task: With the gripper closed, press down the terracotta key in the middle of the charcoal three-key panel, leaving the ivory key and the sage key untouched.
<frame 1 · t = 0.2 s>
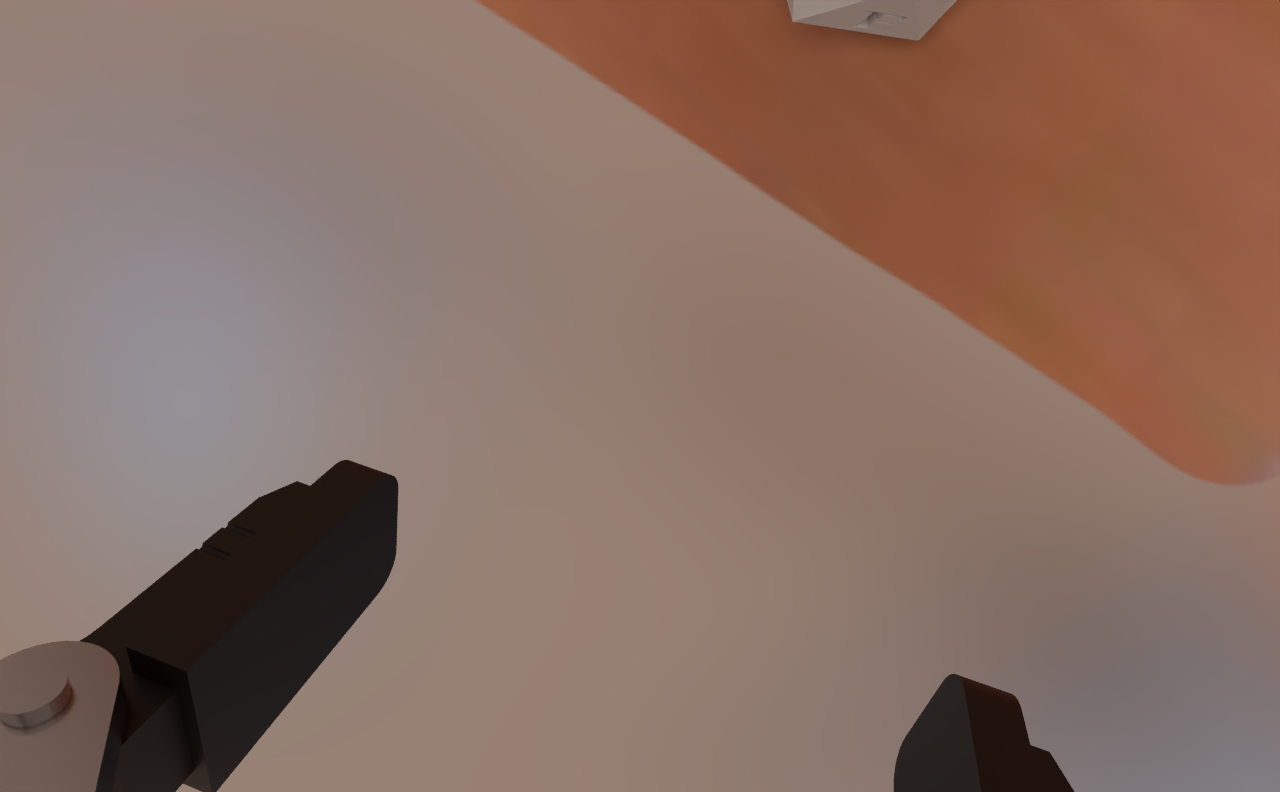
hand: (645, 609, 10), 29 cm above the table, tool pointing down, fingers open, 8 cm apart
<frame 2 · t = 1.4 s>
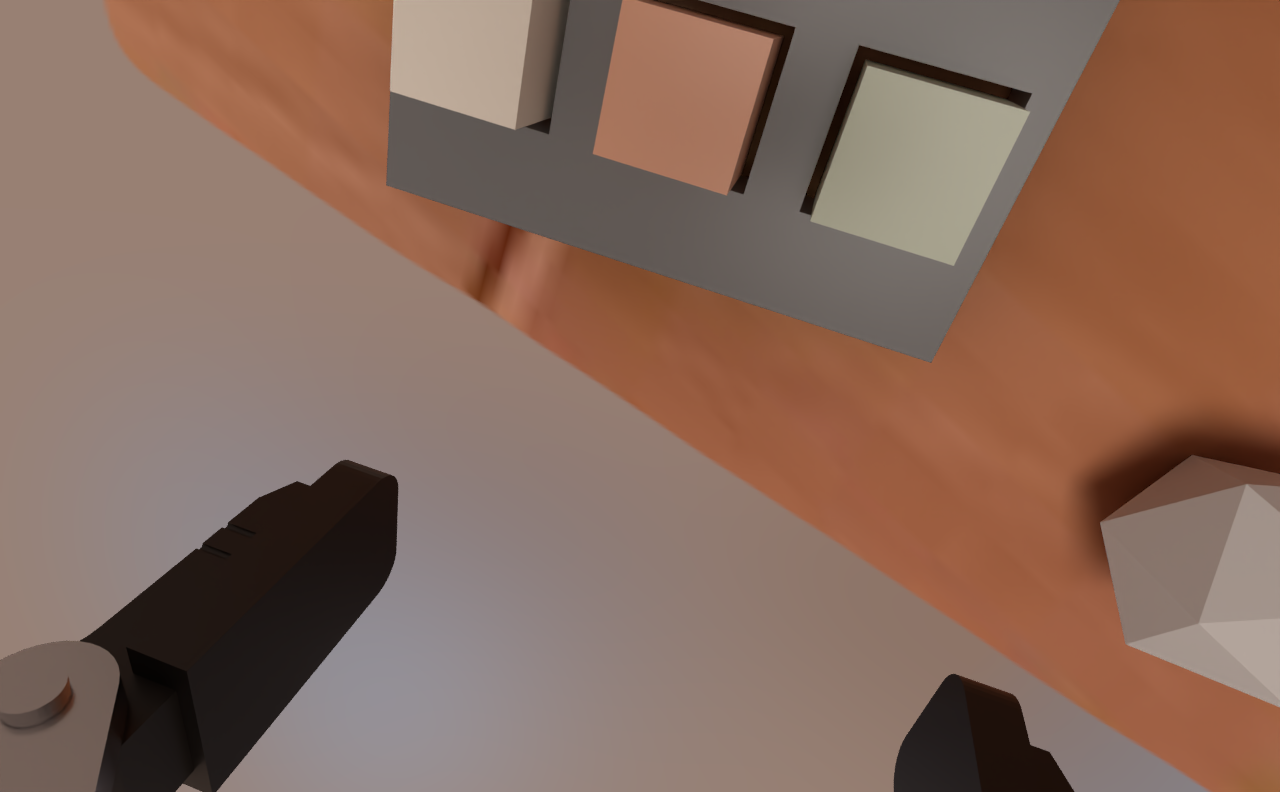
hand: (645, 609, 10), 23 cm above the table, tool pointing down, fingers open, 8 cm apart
die: (1193, 509, 31), on the table
key ivory: (484, 34, 26), point 3 cm above the table, slide at 0.0 cm
key panel: (706, 86, 28), on the table
key sage: (908, 159, 24), point 3 cm above the table, slide at 0.0 cm
key terracotta: (688, 94, 25), point 4 cm above the table, slide at 0.0 cm
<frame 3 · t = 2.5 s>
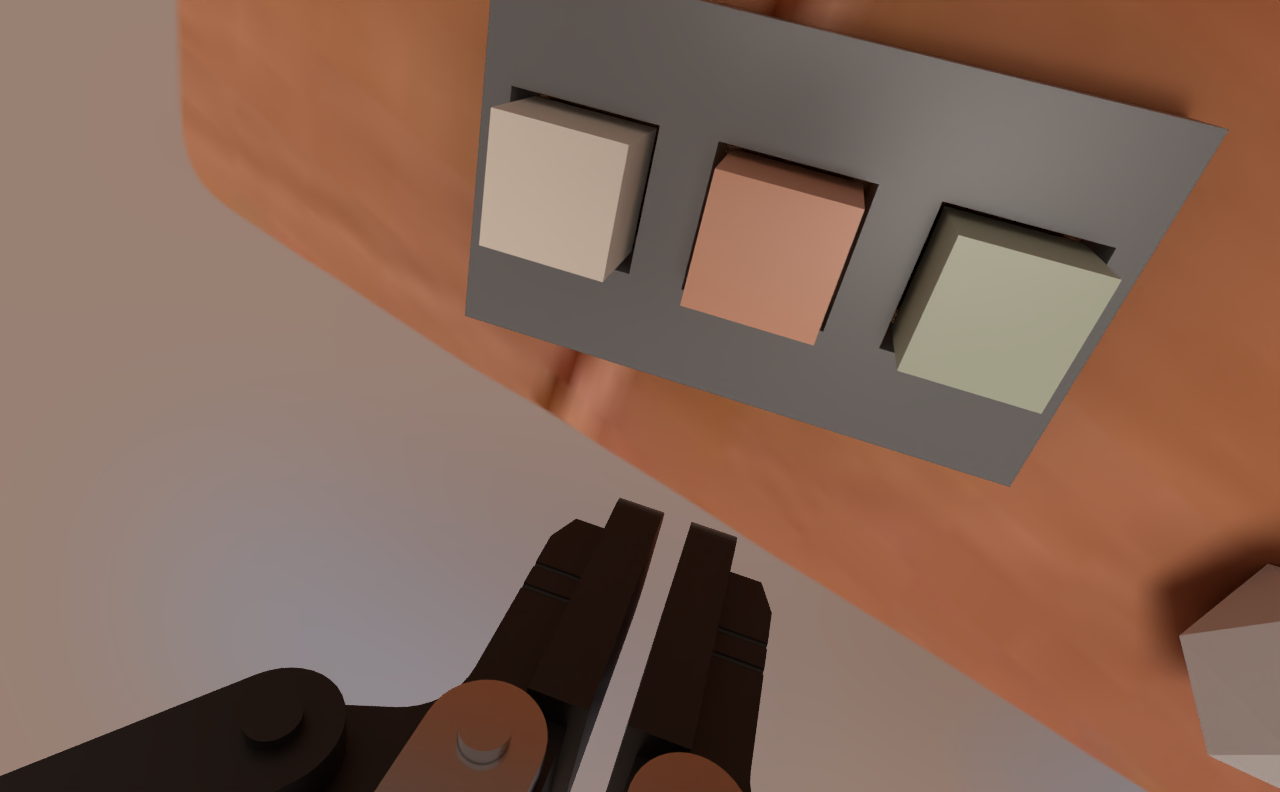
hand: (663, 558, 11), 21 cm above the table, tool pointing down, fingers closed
die: (1269, 613, 31), on the table
key ivory: (568, 186, 27), point 4 cm above the table, slide at 0.0 cm
key panel: (780, 220, 29), on the table
key sage: (991, 306, 25), point 3 cm above the table, slide at 0.0 cm
key terracotta: (771, 244, 26), point 4 cm above the table, slide at 0.0 cm
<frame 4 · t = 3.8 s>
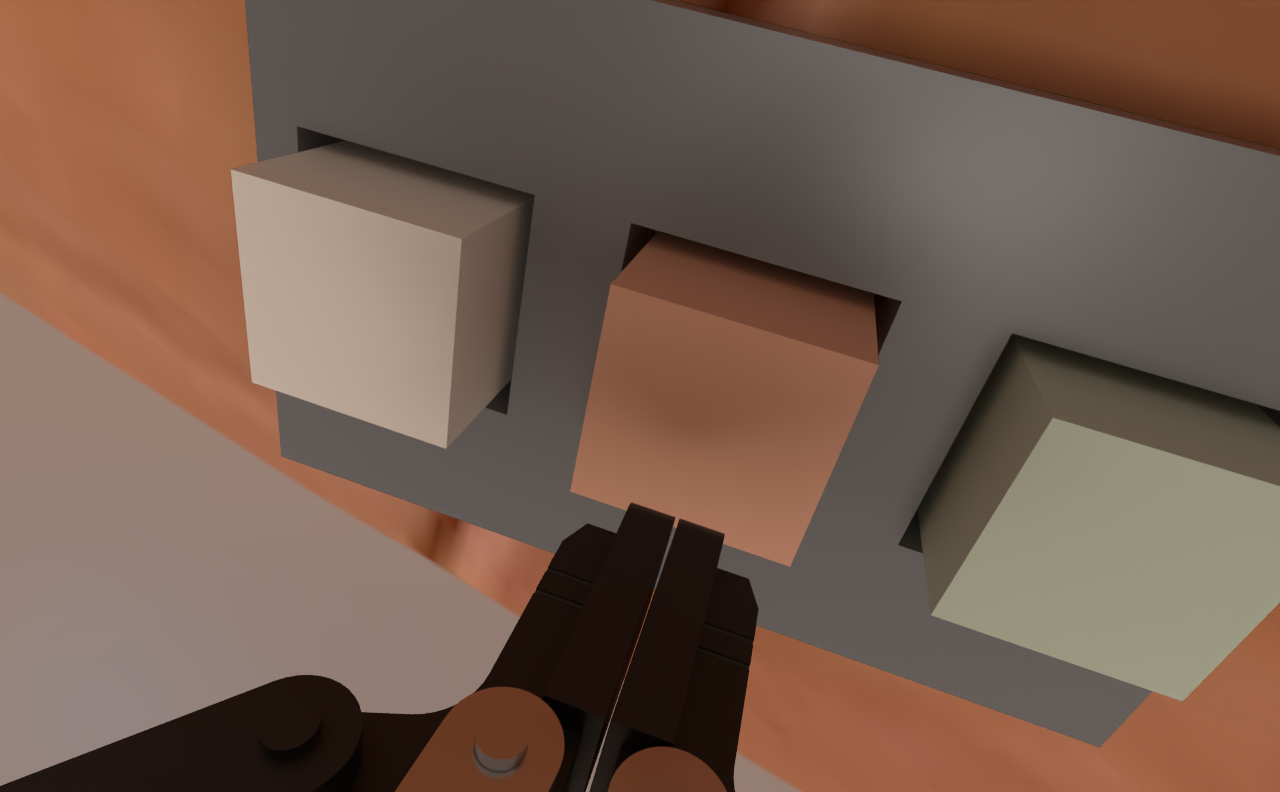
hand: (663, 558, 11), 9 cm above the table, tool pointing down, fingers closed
key ivory: (397, 287, 17), point 3 cm above the table, slide at 0.0 cm
key panel: (743, 329, 19), on the table
key sage: (1091, 505, 15), point 4 cm above the table, slide at 0.0 cm
key terracotta: (722, 389, 16), point 4 cm above the table, slide at 0.0 cm
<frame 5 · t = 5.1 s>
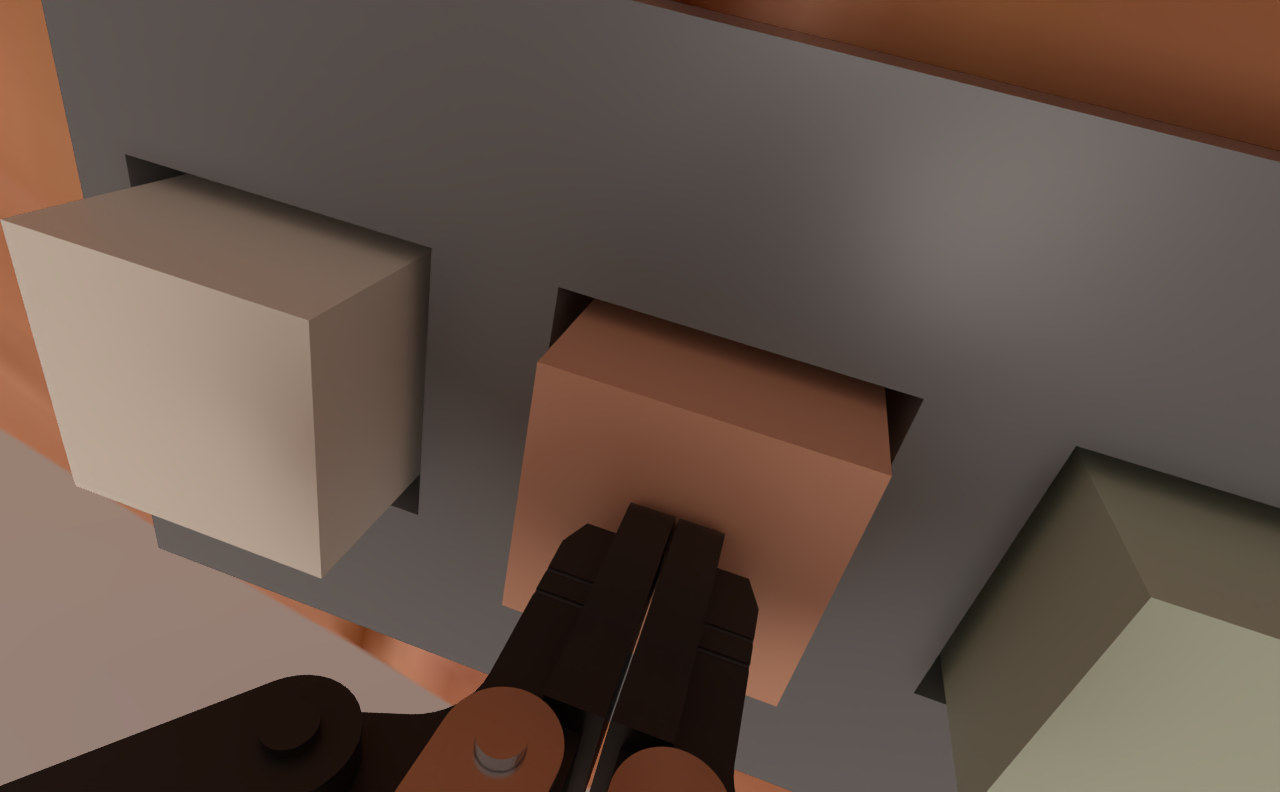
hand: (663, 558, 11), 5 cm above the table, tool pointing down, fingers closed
key ivory: (265, 361, 13), point 4 cm above the table, slide at 0.0 cm
key panel: (718, 404, 15), on the table
key sage: (1178, 671, 11), point 4 cm above the table, slide at 0.0 cm
key terracotta: (693, 476, 12), point 3 cm above the table, slide at 0.8 cm, touching gripper
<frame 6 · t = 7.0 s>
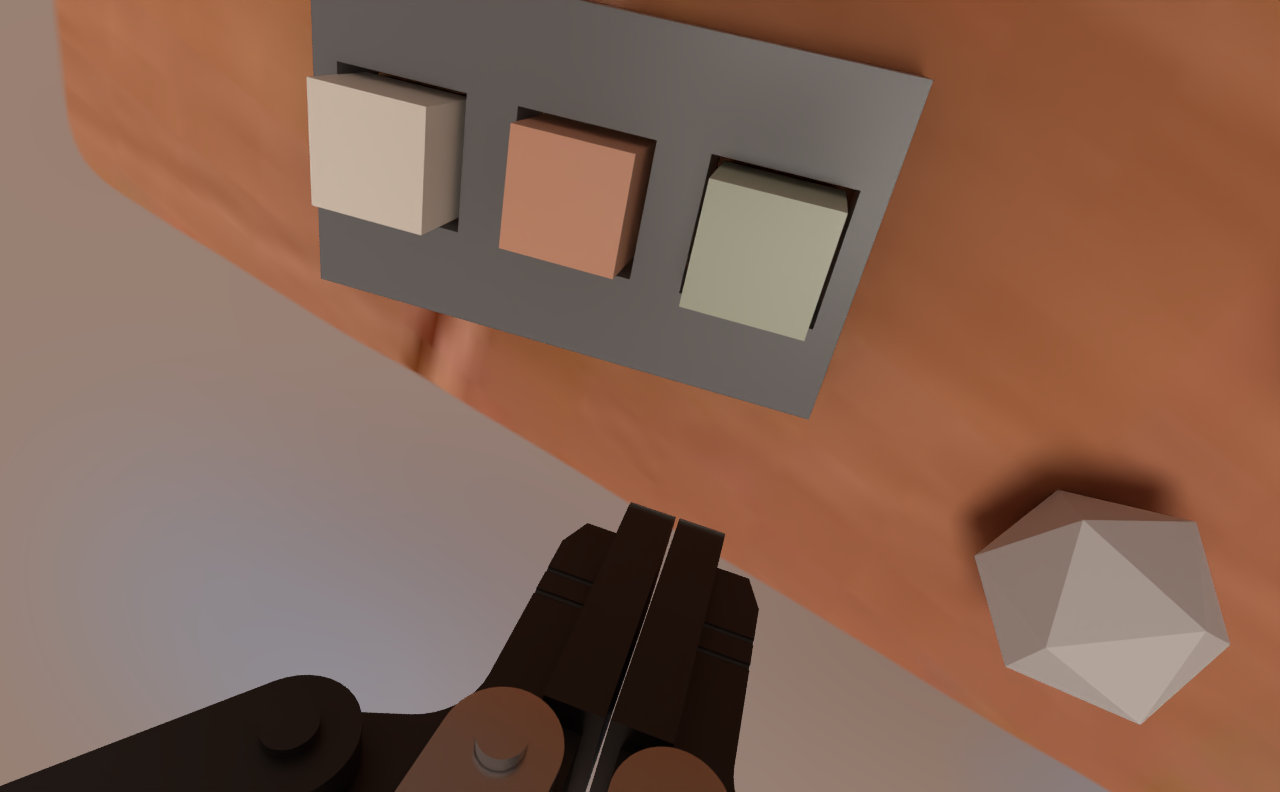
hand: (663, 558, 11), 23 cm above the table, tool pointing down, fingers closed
die: (1067, 538, 34), on the table
key ivory: (393, 151, 30), point 3 cm above the table, slide at 0.0 cm
key panel: (597, 182, 32), on the table
key sage: (763, 248, 28), point 3 cm above the table, slide at 0.0 cm
key terracotta: (579, 193, 29), point 3 cm above the table, slide at 0.9 cm
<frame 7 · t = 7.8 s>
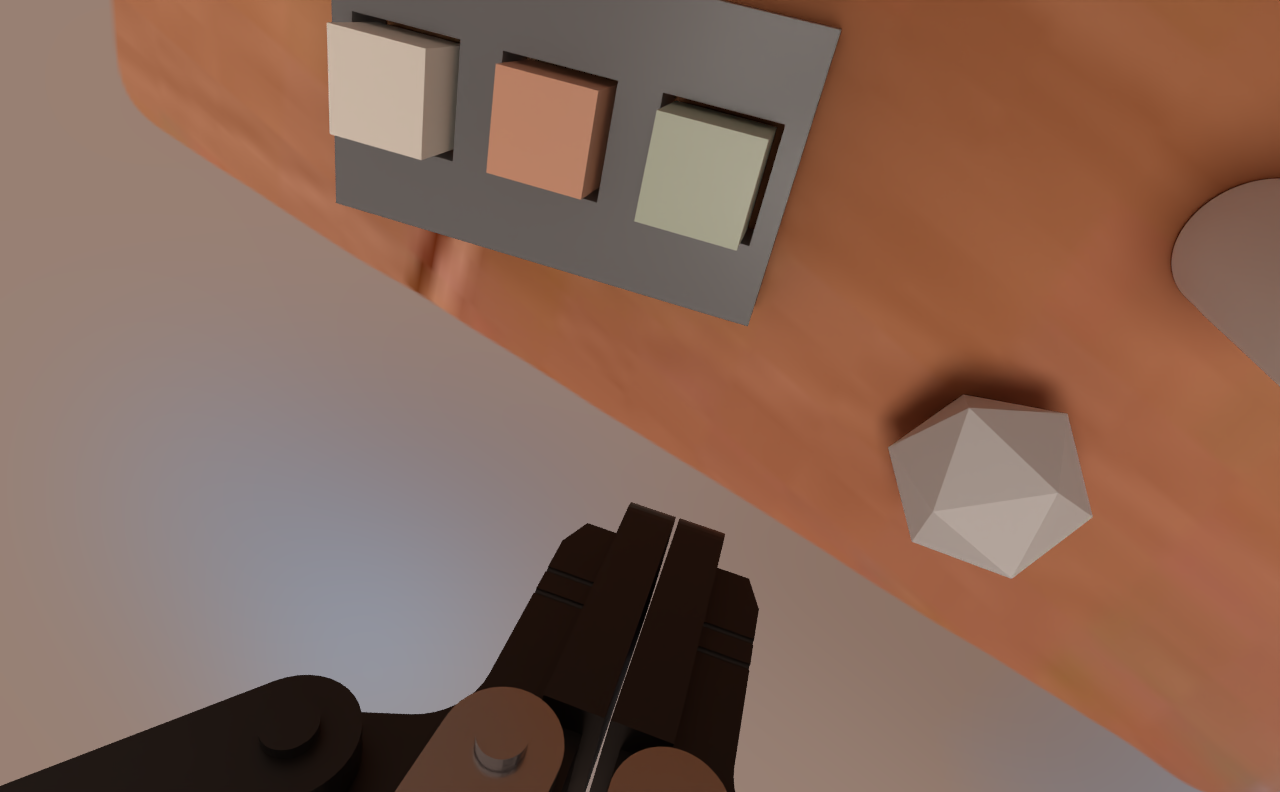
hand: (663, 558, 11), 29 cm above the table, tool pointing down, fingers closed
die: (973, 438, 40), on the table
key ivory: (398, 89, 35), point 4 cm above the table, slide at 0.0 cm
key panel: (572, 121, 37), on the table
key sage: (705, 174, 33), point 4 cm above the table, slide at 0.0 cm
key terracotta: (554, 127, 35), point 3 cm above the table, slide at 0.9 cm
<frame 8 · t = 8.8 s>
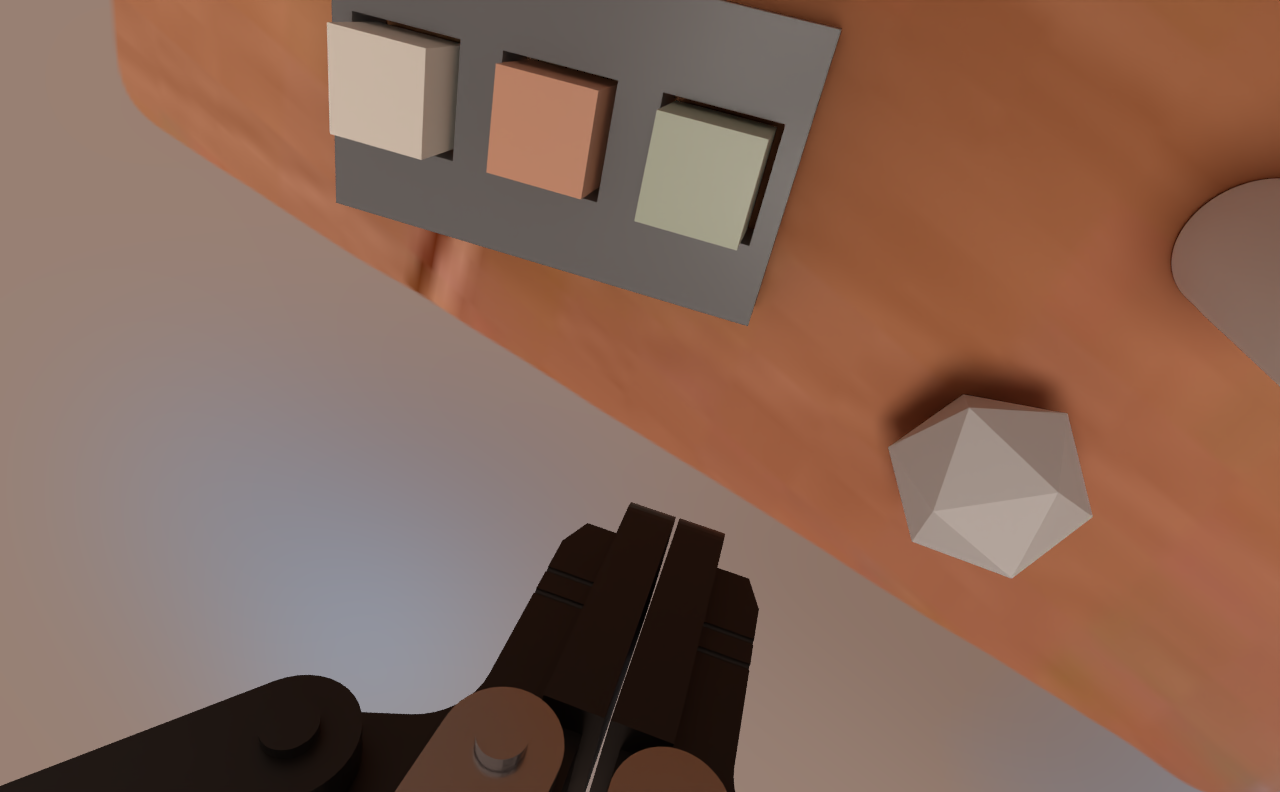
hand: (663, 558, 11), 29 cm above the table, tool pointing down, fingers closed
die: (973, 438, 40), on the table
key ivory: (398, 89, 35), point 3 cm above the table, slide at 0.0 cm
key panel: (572, 121, 37), on the table
key sage: (705, 173, 33), point 3 cm above the table, slide at 0.0 cm
key terracotta: (554, 127, 35), point 3 cm above the table, slide at 0.9 cm
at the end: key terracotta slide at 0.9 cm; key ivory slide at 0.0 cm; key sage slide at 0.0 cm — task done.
